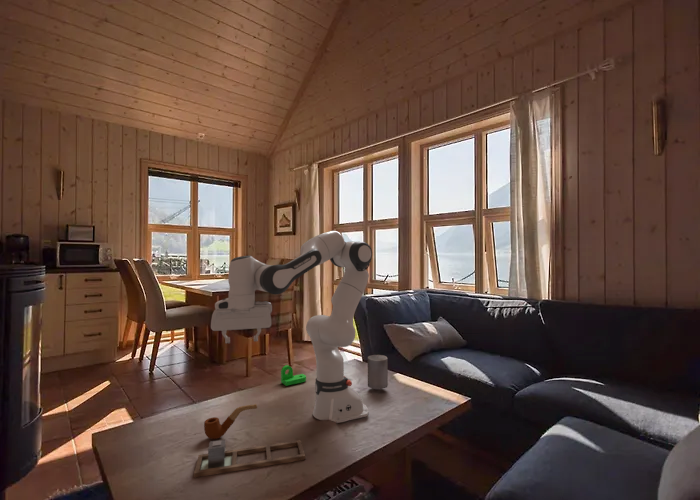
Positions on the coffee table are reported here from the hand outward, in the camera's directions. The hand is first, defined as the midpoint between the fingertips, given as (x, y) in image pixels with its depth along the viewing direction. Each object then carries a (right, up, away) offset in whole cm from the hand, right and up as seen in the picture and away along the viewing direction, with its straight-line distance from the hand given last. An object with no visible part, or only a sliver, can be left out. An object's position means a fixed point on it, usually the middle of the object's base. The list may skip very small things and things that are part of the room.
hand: (241, 341), depth 126 cm
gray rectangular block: (-3, -33, -17) cm, 37 cm away
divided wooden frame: (+7, -33, -14) cm, 36 cm away
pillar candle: (+51, -34, +48) cm, 78 cm away
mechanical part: (+10, -34, +56) cm, 66 cm away
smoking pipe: (-4, -33, +1) cm, 34 cm away
